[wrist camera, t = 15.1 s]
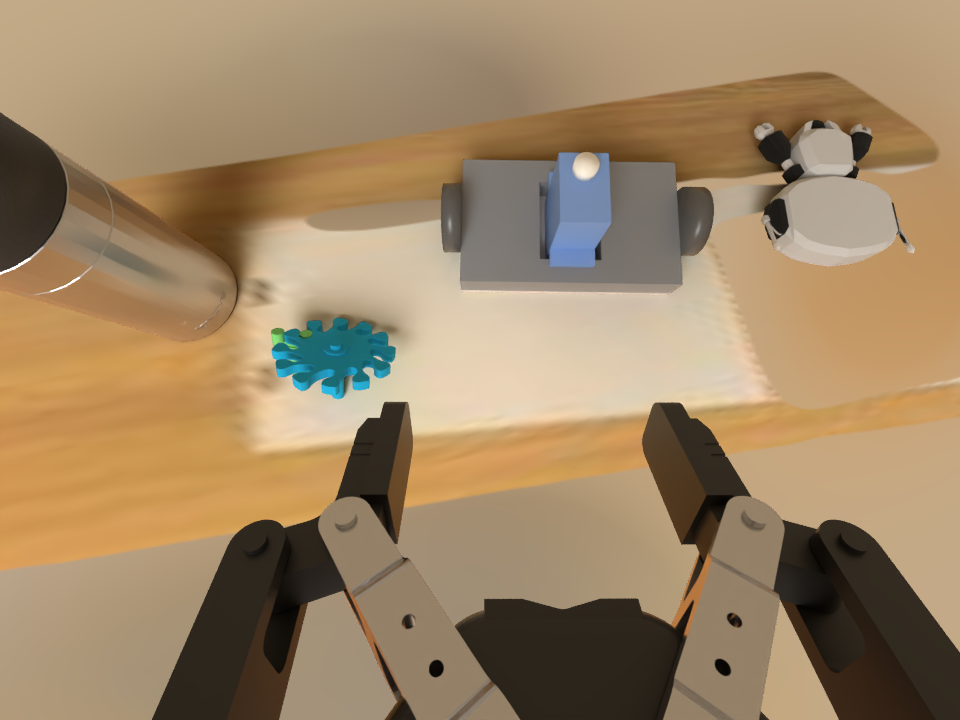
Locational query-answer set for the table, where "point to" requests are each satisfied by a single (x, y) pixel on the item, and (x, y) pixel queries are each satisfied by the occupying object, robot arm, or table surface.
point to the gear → (331, 355)
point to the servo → (577, 208)
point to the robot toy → (826, 197)
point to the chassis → (521, 229)
